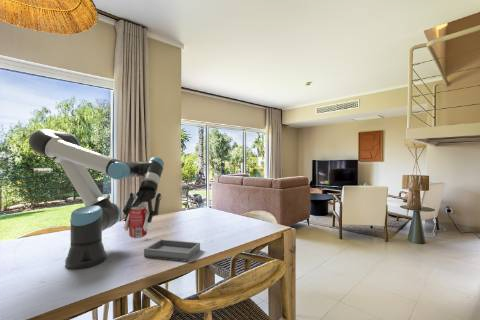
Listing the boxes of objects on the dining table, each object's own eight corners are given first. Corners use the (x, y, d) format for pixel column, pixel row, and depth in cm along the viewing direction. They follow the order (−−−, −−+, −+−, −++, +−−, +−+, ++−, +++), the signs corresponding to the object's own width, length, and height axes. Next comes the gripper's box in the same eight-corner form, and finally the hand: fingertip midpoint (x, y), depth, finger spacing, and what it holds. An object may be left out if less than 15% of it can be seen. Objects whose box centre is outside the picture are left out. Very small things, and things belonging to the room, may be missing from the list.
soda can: (141, 232, 105) (142, 205, 105) (150, 236, 100) (150, 207, 100) (125, 236, 99) (126, 207, 99) (134, 240, 95) (134, 210, 95)
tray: (144, 256, 111) (144, 248, 111) (160, 246, 125) (160, 239, 125) (187, 261, 106) (187, 253, 106) (200, 249, 120) (200, 242, 120)
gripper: (172, 189, 115) (161, 233, 99) (130, 189, 115) (113, 233, 98) (169, 179, 110) (158, 224, 94) (125, 178, 109) (106, 224, 93)
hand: (135, 229), depth 96 cm, fingers closed on soda can, 7 cm apart
